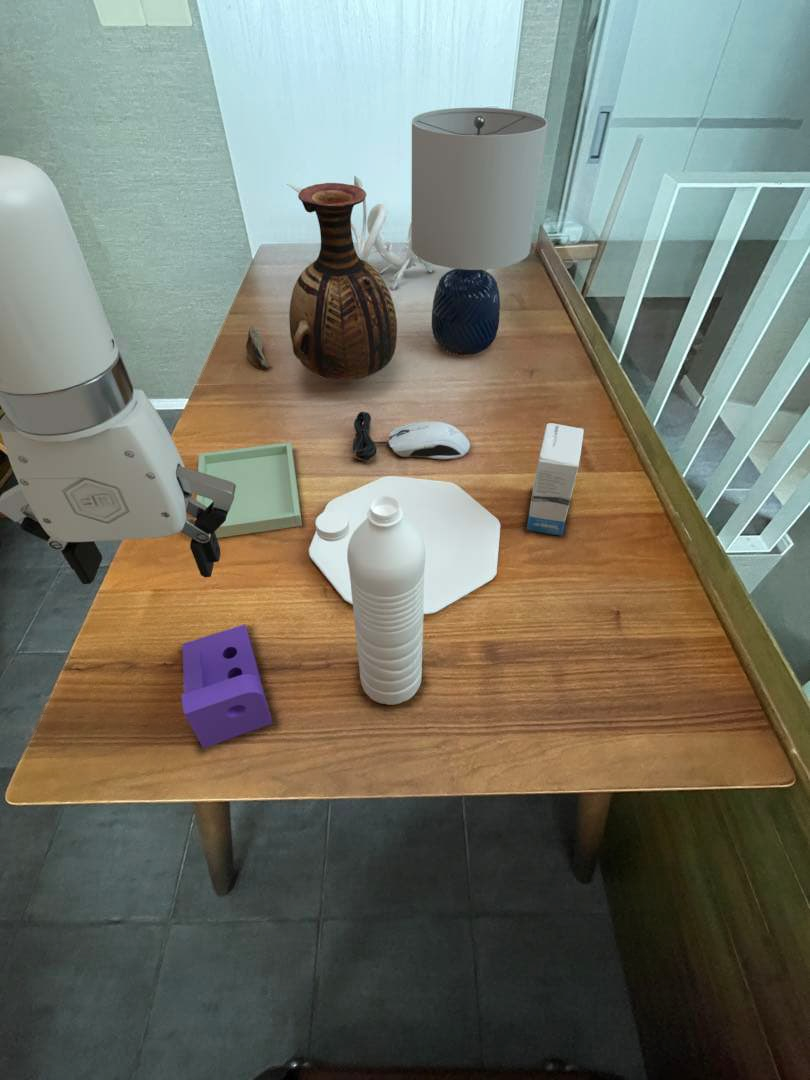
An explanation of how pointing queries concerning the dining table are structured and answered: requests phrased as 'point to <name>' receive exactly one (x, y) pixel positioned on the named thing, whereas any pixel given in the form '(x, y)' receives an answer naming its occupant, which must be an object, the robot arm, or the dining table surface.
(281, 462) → the shallow tray
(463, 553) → the plate
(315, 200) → the vase
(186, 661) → the bracket
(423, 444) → the computer mouse
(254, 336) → the oyster shell
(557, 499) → the ink box
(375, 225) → the white dragon statue
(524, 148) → the lamp
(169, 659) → the dining table surface
